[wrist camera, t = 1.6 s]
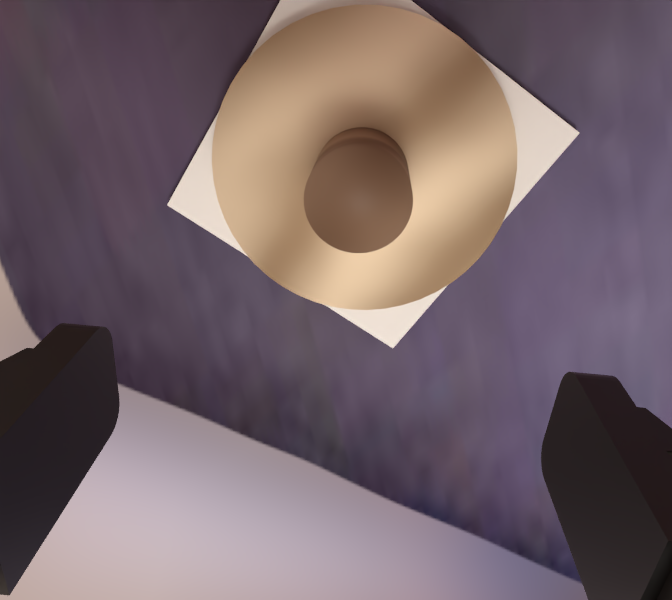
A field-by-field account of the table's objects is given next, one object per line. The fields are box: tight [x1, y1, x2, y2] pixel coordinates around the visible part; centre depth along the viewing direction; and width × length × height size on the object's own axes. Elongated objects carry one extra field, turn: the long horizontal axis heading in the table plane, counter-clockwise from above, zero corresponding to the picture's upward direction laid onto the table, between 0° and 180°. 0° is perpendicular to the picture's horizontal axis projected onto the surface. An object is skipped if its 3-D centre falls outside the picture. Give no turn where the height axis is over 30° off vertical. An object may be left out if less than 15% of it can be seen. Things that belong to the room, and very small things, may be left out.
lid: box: [212, 5, 517, 310], centre depth 23 cm, size 13×13×5 cm
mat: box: [167, 0, 579, 348], centre depth 25 cm, size 13×13×1 cm
